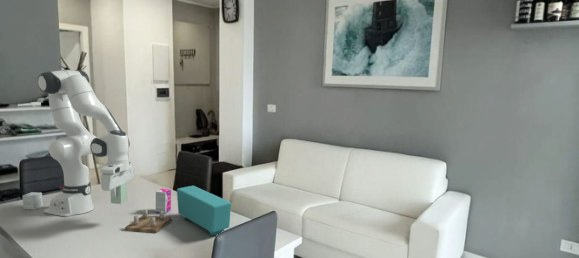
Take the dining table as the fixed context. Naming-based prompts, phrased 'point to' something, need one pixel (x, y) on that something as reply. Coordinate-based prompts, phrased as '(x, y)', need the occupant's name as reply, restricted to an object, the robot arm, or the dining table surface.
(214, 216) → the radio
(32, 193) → the skincare box
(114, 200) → the sage block
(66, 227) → the dining table surface
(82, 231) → the dining table surface
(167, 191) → the supplement box
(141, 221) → the peg board
